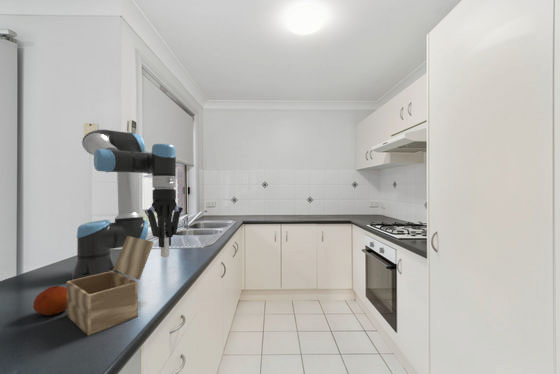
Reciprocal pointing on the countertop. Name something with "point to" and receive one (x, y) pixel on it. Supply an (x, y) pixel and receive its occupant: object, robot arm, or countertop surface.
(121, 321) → the wooden box
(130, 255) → the flap
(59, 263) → the countertop surface
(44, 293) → the fruit
